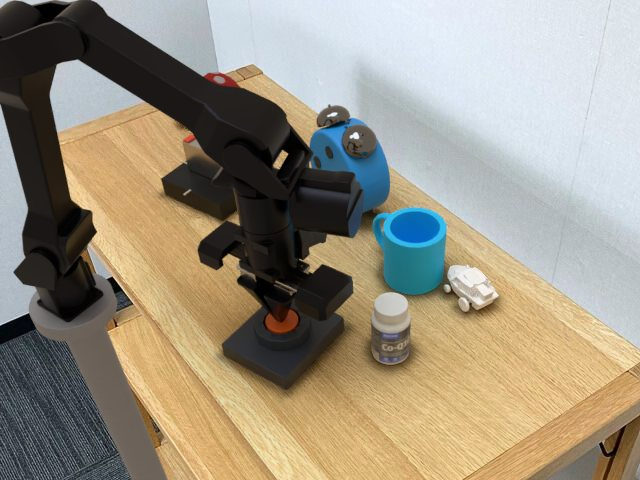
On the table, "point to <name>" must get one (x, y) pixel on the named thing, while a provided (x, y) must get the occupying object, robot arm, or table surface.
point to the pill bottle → (390, 328)
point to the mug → (412, 249)
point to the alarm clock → (351, 153)
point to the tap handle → (199, 158)
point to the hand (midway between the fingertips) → (281, 319)
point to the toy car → (470, 287)
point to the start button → (282, 324)
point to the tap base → (199, 192)
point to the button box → (281, 345)
